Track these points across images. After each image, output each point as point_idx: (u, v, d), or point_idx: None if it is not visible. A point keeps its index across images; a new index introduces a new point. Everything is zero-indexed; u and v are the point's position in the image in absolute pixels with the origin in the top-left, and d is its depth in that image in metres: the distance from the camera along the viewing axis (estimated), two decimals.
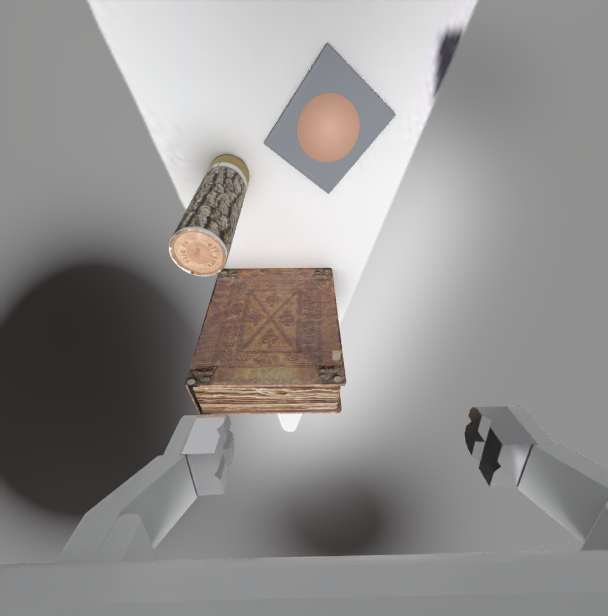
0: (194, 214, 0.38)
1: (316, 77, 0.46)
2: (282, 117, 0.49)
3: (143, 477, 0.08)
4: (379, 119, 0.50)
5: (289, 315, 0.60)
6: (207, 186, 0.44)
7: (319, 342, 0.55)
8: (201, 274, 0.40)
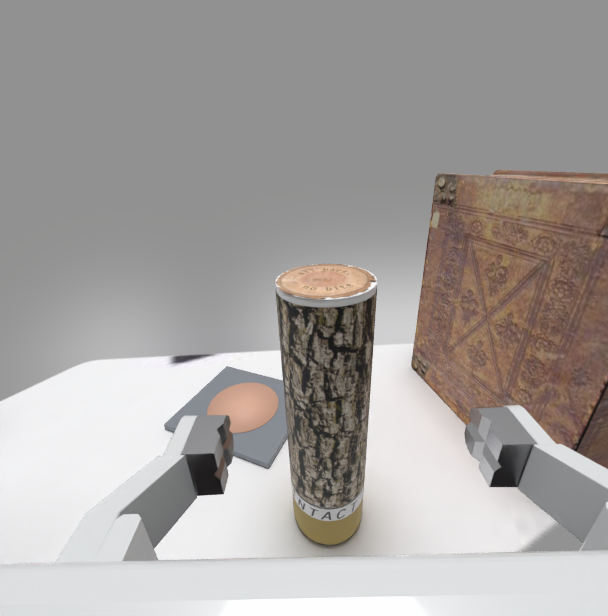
0: (281, 335, 0.22)
1: None
2: None
3: (143, 477, 0.08)
4: (231, 374, 0.52)
5: (464, 309, 0.39)
6: (288, 423, 0.25)
7: (445, 245, 0.41)
8: (372, 277, 0.22)
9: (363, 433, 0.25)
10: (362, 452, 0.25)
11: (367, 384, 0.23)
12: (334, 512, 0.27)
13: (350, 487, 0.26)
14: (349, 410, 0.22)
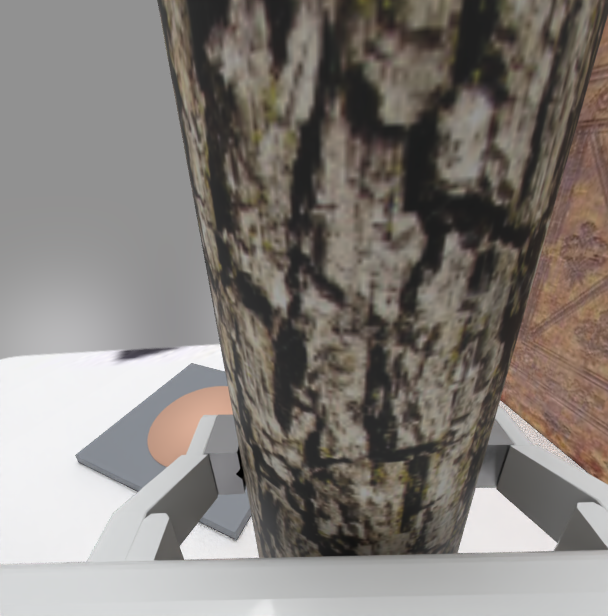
0: (196, 209, 0.06)
1: (120, 458, 0.26)
2: None
3: (168, 476, 0.08)
4: (195, 374, 0.36)
5: (571, 259, 0.23)
6: (250, 500, 0.09)
7: None
8: None
9: None
10: None
11: (501, 392, 0.07)
12: None
13: None
14: (449, 487, 0.06)
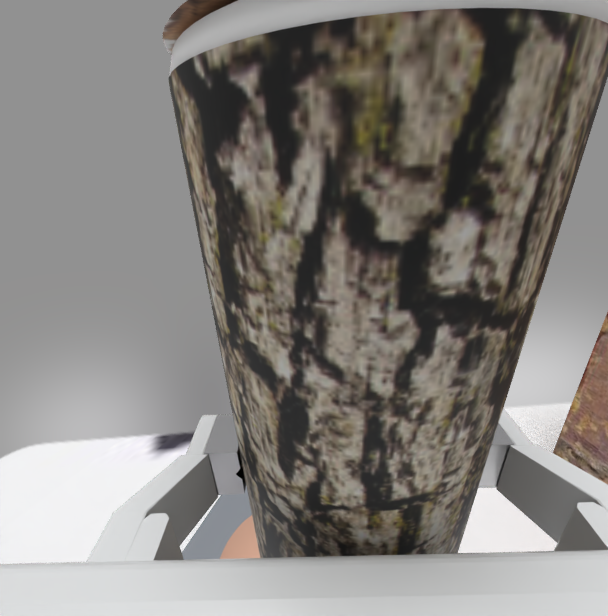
0: (205, 270, 0.06)
1: None
2: None
3: (168, 476, 0.08)
4: None
5: None
6: (254, 522, 0.10)
7: None
8: None
9: None
10: None
11: None
12: None
13: None
14: (441, 527, 0.07)
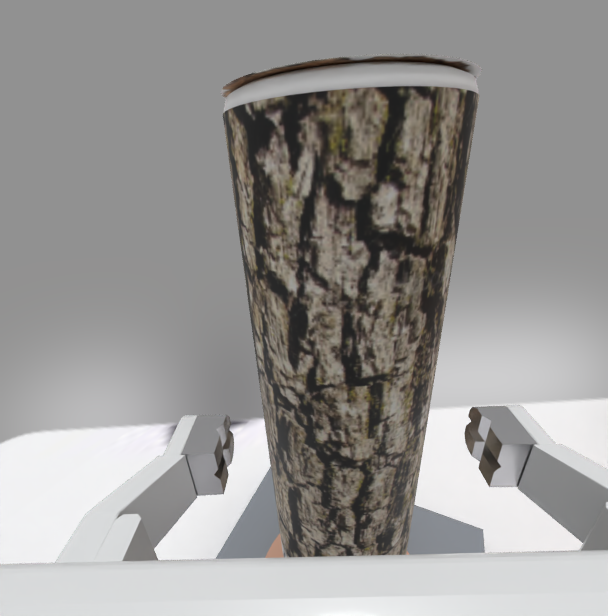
0: (240, 232, 0.09)
1: None
2: None
3: (143, 477, 0.08)
4: None
5: None
6: (268, 433, 0.13)
7: None
8: None
9: (419, 455, 0.12)
10: (414, 491, 0.13)
11: (436, 350, 0.10)
12: None
13: None
14: (399, 408, 0.10)
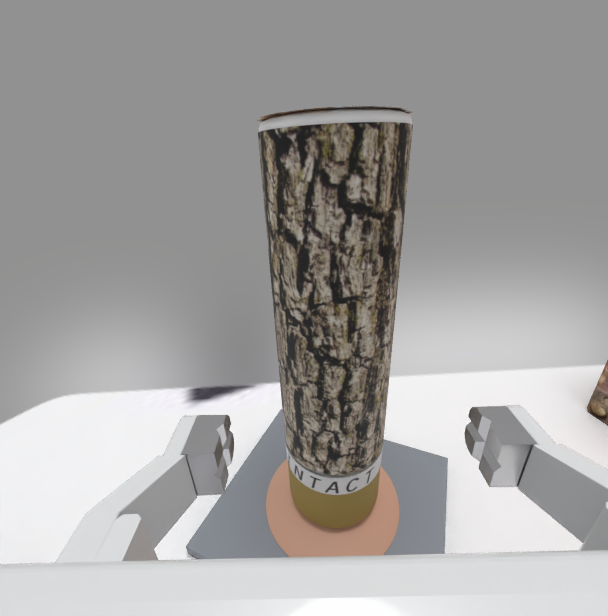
0: (266, 206, 0.14)
1: (244, 553, 0.21)
2: None
3: (143, 477, 0.08)
4: None
5: None
6: (280, 353, 0.18)
7: None
8: None
9: (385, 367, 0.17)
10: (383, 397, 0.18)
11: (394, 287, 0.15)
12: (343, 482, 0.19)
13: (365, 447, 0.19)
14: (367, 322, 0.15)
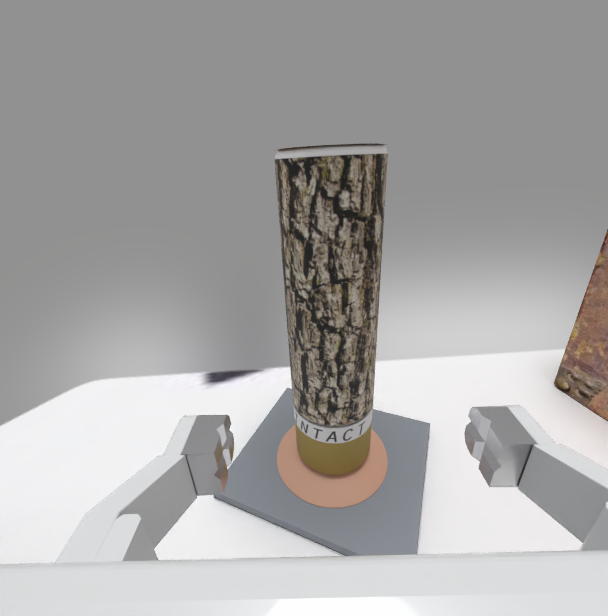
0: (281, 212, 0.20)
1: (260, 494, 0.26)
2: (340, 543, 0.22)
3: (143, 477, 0.08)
4: None
5: None
6: (290, 327, 0.23)
7: None
8: None
9: (372, 336, 0.22)
10: (371, 361, 0.23)
11: (376, 273, 0.20)
12: (340, 432, 0.24)
13: (358, 402, 0.24)
14: (356, 299, 0.20)
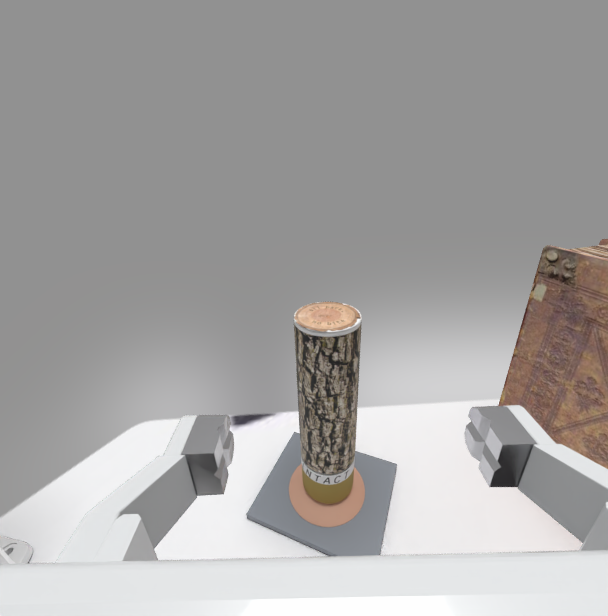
0: (297, 352, 0.32)
1: (278, 517, 0.39)
2: (331, 550, 0.35)
3: (143, 477, 0.08)
4: None
5: (580, 395, 0.36)
6: (300, 412, 0.36)
7: (553, 322, 0.38)
8: (358, 313, 0.32)
9: (353, 420, 0.35)
10: (352, 434, 0.36)
11: (355, 386, 0.33)
12: (332, 477, 0.37)
13: (343, 459, 0.36)
14: (342, 403, 0.33)
